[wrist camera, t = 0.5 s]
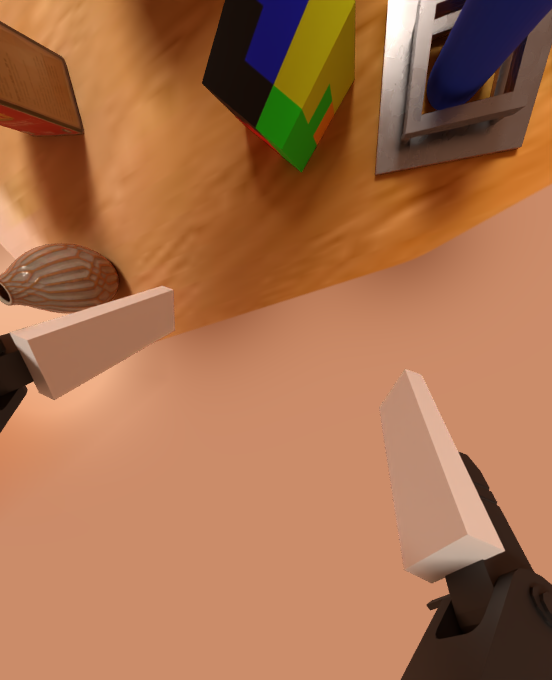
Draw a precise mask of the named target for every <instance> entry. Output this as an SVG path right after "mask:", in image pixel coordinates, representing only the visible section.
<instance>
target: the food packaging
mask: <svg viewBox="0 0 552 680" xmlns="http://www.w3.org/2000/svg"><path fill="white" fill-rule="evenodd" d="M0 125H1V126H4V127H8V128H11V129H14V130H17V131H21V132H24V133H27V134H30V135H32V136H57V135H76V134H83V133H84V130H83V126H82V122H81V118H80V115H79V112H78V108H77V104H76V100H75V96H74V93H73V89H72V86H71V82H70V78H69V74H68V70H67V67H66V63H65V61H64V59H63V57H62V56H60V55H58V54H56V53H55V52H53V51H51V50H49V49H48V48H46V47H44V46H43V45H41V44H39V43H37V42H36V41H34V40H32V39H30V38H29V37H27V36H25V35H23V34H22V33H20V32H18V31H16V30H15V29H13V28H11V27H9V26H8V25H6V24H4V23H2V22H1V21H0Z"/></svg>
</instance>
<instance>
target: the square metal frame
mask: <svg viewBox="0 0 552 680" xmlns="http://www.w3.org/2000/svg"><path fill="white" fill-rule="evenodd" d="M465 2H466V0H388V6H387V19H386V33H385V47H384V60H383V74H382V88H381V101H380V115H379V128H378V142H377V156H376V169H375V176H376V175H381V174H386V173H392V172H397V171H402V170H408V169H413V168H419V167H424V166H429V165H435V164H440V163H445V162H451V161H456V160H461V159H467V158H472V157H477V156H483V155H488V154H493V153H499V152H504V151H509V150H515V149H518V148H520V147H522V143H523V140H524V137H525V133H526V130H527V126H528V123H529V120H530V116H531V113H532V109H533V106H534V103H535V99H536V96H537V92H538V89H539V86H540V82H541V79H542V75H543V72H544V69H545V65H546V62H547V58H548V55H549V52H550V48H551V45H552V9H551V10H550V11H549V12H548V13H547V15H546V16H545V17H544V18H543V19H542V20H541V21H540V22H539V23H538V25H537V26H536V27H535V28H534V29H533V30H532V31H531V32H530V33H529V35H528V36H527V37H526V38H525V39H524V40H523V41H522V42H521V43H520V45H519V46H518V47H517V48H516V49H515V50H514V51H513V52H512V53H511V55H510V56H509V57H508V58H507V59H506V60H505V61H504V62H503V63H502V65H501V66H500V67H499V68H498V69H497V70H496V73H495V77H494V82H493V86H492V90H491V95H490V98H486V99H482V100H478V101H474V102H470V103H466V104H462V105H458V106H454V107H450V108H446V109H442V110H438V111H434V112H430V113H426V114H422V106H423V99H424V91H425V84H426V77H427V69H428V62H429V54H430V47H431V41H432V40H434V39H437V38H440V37H443V36H446V35H449V34H450V32H451V30H452V28H453V26H454V24H455V22H456V20H457V18H458V16H459V14H460V12H461V10H462V8H463V6H464V4H465ZM421 114H422V115H421Z"/></svg>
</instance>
